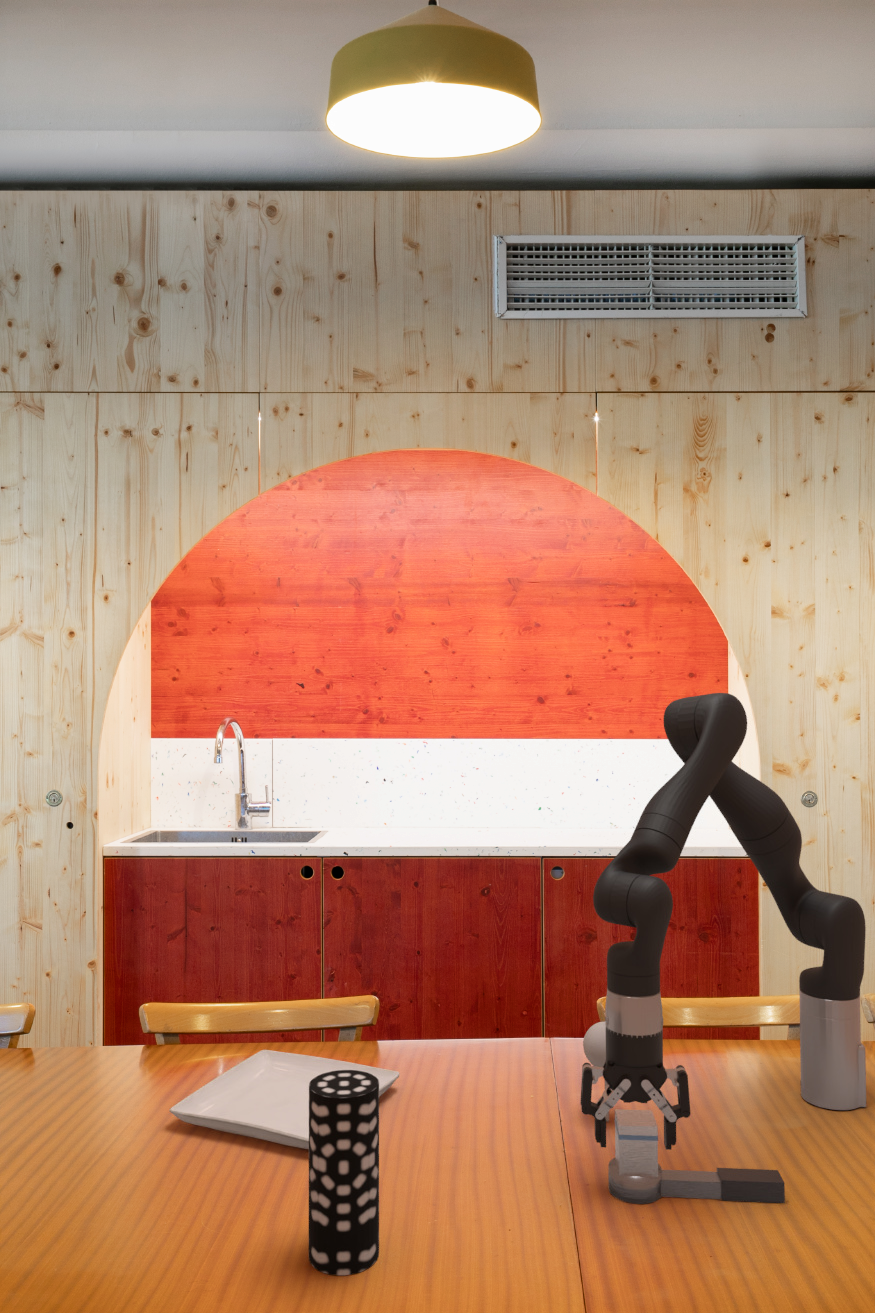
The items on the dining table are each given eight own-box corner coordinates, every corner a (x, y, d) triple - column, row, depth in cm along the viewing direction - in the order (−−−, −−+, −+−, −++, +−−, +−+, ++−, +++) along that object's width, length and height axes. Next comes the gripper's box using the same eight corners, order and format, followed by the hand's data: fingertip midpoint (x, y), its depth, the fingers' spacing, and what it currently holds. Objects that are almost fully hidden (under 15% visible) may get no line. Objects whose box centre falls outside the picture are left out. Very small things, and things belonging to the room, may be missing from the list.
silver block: (652, 1159, 133) (652, 1110, 133) (658, 1177, 128) (658, 1127, 128) (614, 1157, 133) (614, 1109, 134) (619, 1176, 128) (618, 1126, 129)
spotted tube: (310, 1237, 120) (310, 1071, 120) (378, 1233, 120) (378, 1069, 121) (306, 1278, 111) (307, 1099, 112) (379, 1274, 112) (379, 1097, 113)
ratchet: (774, 1183, 132) (773, 1130, 133) (788, 1210, 125) (787, 1155, 126) (606, 1176, 134) (606, 1124, 135) (610, 1203, 127) (610, 1148, 128)
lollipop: (630, 1133, 147) (629, 1032, 148) (582, 1128, 149) (581, 1029, 149) (630, 1113, 154) (629, 1016, 155) (584, 1109, 156) (584, 1013, 156)
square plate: (165, 1133, 149) (165, 1107, 149) (263, 1068, 174) (263, 1046, 174) (323, 1166, 138) (323, 1138, 138) (402, 1092, 164) (402, 1068, 164)
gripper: (683, 1015, 134) (684, 1135, 134) (578, 1013, 136) (579, 1131, 135) (692, 1035, 127) (694, 1162, 126) (581, 1032, 128) (583, 1157, 128)
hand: (635, 1146), depth 131 cm, fingers open, 8 cm apart
